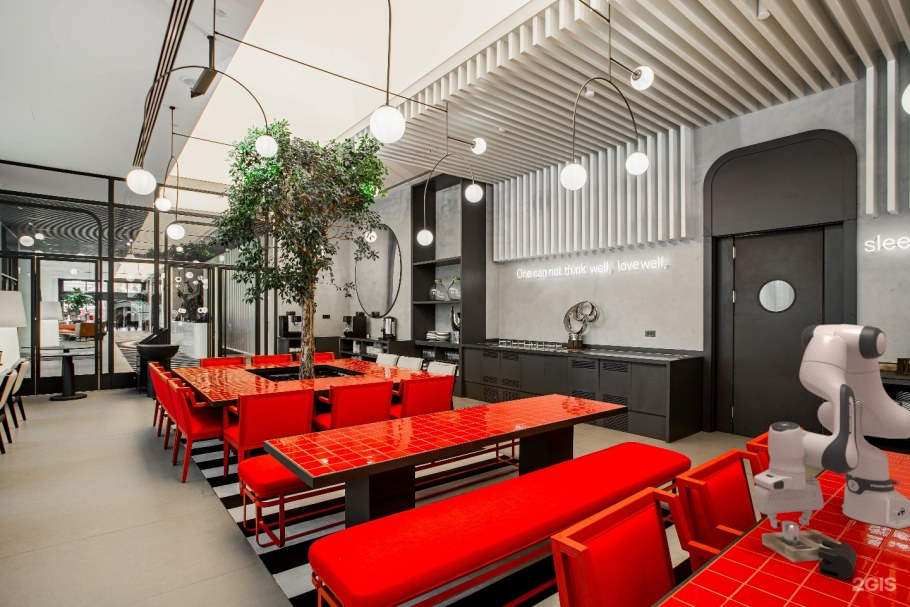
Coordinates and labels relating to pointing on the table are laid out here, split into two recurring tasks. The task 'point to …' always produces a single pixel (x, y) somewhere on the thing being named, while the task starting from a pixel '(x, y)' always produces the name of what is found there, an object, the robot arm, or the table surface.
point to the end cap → (837, 560)
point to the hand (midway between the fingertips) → (789, 525)
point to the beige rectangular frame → (804, 550)
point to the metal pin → (790, 533)
